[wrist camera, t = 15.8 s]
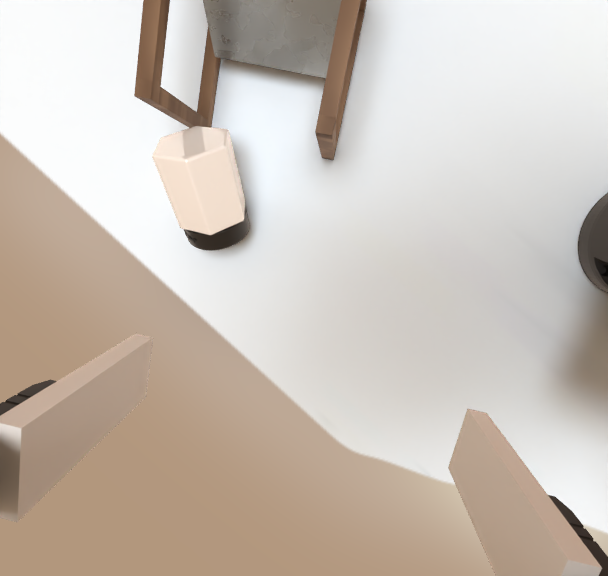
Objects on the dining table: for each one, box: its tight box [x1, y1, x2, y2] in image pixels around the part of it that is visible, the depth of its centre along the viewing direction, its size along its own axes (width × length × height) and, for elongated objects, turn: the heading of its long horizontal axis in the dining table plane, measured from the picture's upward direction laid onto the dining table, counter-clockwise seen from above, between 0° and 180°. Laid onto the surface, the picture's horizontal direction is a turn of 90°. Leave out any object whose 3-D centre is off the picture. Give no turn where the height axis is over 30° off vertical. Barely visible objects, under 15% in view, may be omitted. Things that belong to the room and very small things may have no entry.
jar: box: [152, 126, 250, 250], centre depth 45 cm, size 9×8×12 cm
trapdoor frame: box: [135, 0, 367, 160], centre depth 39 cm, size 18×18×16 cm
